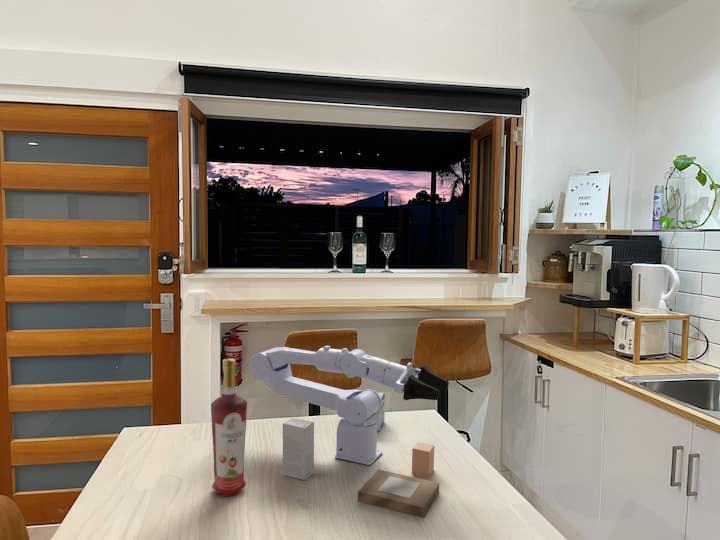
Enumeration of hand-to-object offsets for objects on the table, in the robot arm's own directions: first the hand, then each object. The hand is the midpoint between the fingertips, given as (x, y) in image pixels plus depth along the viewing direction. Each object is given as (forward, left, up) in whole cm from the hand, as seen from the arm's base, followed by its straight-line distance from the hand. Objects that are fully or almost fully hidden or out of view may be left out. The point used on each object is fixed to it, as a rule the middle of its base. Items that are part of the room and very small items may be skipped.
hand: (443, 390), depth 118 cm
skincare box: (-29, -15, -20) cm, 38 cm away
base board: (-5, -14, -19) cm, 24 cm away
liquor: (-38, -28, -20) cm, 51 cm away
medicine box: (-25, +20, -20) cm, 38 cm away
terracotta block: (-4, -1, -19) cm, 20 cm away
